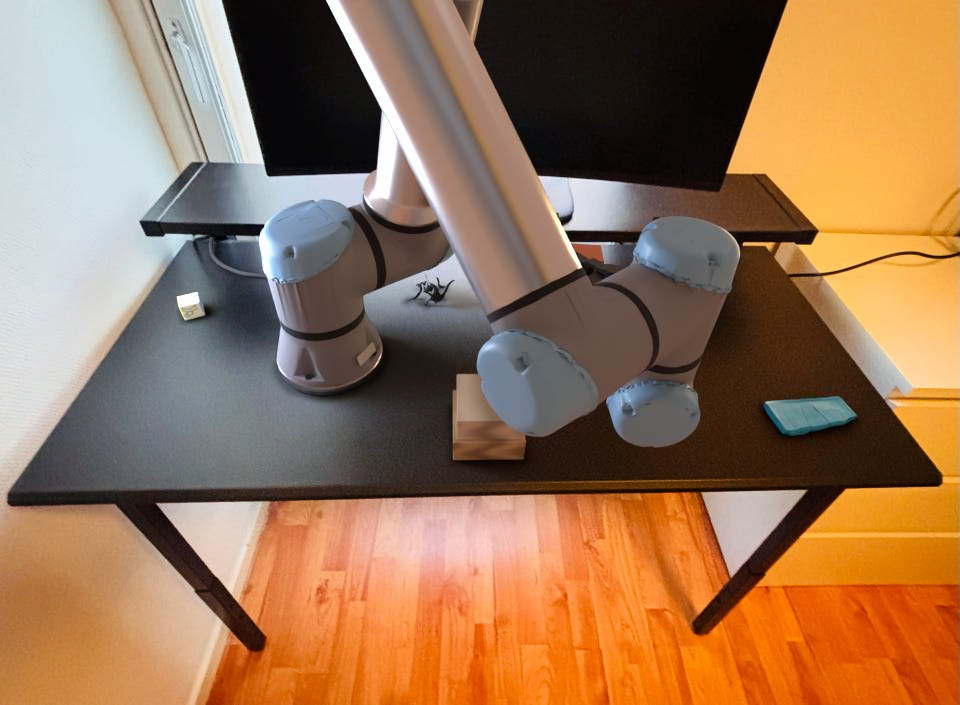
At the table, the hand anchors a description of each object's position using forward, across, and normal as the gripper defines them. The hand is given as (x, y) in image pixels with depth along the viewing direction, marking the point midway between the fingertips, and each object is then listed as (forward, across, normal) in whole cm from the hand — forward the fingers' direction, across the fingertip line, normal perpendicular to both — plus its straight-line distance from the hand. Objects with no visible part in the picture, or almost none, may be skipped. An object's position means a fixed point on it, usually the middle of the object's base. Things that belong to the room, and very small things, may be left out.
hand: (604, 223), depth 73 cm
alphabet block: (0, -64, -20) cm, 67 cm away
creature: (+8, -26, -20) cm, 34 cm away
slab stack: (-21, -15, -20) cm, 33 cm away
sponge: (-15, +31, -21) cm, 40 cm away
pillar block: (+10, 0, -20) cm, 22 cm away
